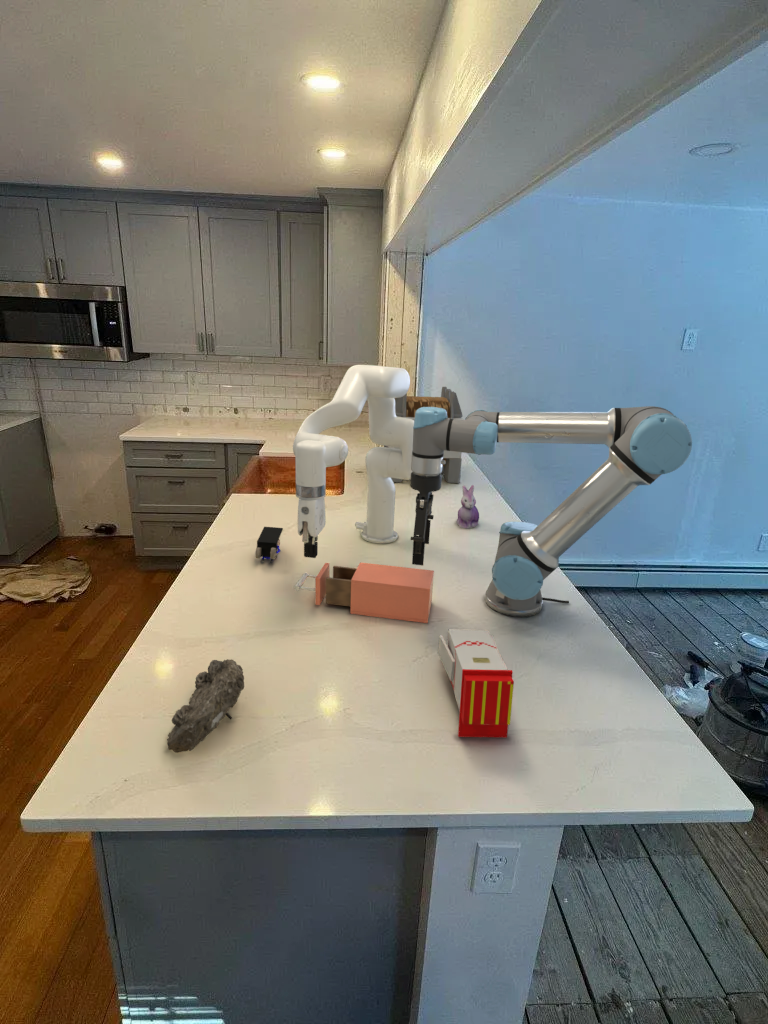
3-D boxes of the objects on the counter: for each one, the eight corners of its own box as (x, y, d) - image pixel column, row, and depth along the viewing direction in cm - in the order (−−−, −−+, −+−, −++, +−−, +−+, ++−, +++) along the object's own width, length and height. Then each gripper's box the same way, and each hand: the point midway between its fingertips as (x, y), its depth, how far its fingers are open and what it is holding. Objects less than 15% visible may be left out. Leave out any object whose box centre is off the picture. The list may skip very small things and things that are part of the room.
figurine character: (277, 570, 171) (284, 545, 185) (276, 548, 168) (283, 525, 181) (254, 569, 171) (263, 545, 184) (253, 548, 168) (262, 524, 181)
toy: (488, 613, 130) (523, 677, 101) (484, 667, 133) (517, 744, 104) (435, 612, 130) (455, 676, 101) (432, 666, 133) (451, 743, 103)
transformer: (382, 463, 289) (386, 382, 275) (445, 464, 293) (451, 384, 279) (390, 482, 257) (394, 392, 243) (460, 483, 261) (468, 394, 247)
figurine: (465, 530, 205) (468, 491, 200) (449, 521, 213) (452, 483, 208) (486, 527, 209) (490, 488, 204) (469, 518, 218) (473, 480, 213)
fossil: (192, 660, 117) (244, 628, 112) (224, 691, 120) (276, 661, 115) (142, 746, 98) (202, 712, 93) (182, 779, 101) (242, 748, 96)
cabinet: (350, 613, 147) (351, 579, 143) (359, 594, 157) (360, 562, 153) (427, 623, 144) (430, 588, 140) (431, 603, 154) (433, 570, 150)
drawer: (293, 602, 149) (292, 575, 147) (304, 585, 158) (303, 560, 155) (386, 613, 146) (387, 586, 143) (392, 596, 154) (393, 570, 152)
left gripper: (316, 500, 136) (316, 569, 142) (332, 483, 149) (331, 547, 156) (286, 497, 137) (287, 566, 143) (305, 480, 151) (305, 544, 157)
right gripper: (437, 489, 124) (430, 576, 131) (445, 461, 147) (439, 536, 155) (403, 485, 125) (398, 572, 133) (417, 458, 148) (412, 533, 156)
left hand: (310, 556), depth 149 cm, fingers closed
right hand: (420, 553), depth 144 cm, fingers open, 13 cm apart
